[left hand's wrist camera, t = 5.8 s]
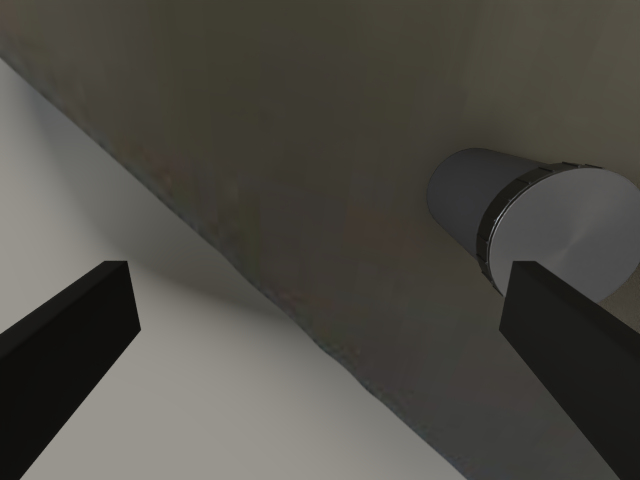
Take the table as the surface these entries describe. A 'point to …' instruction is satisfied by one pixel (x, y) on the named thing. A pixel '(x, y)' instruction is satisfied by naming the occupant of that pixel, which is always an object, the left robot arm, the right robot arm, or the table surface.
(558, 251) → the lid
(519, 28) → the table surface
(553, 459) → the table surface
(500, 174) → the screw-top jar
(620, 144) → the table surface
